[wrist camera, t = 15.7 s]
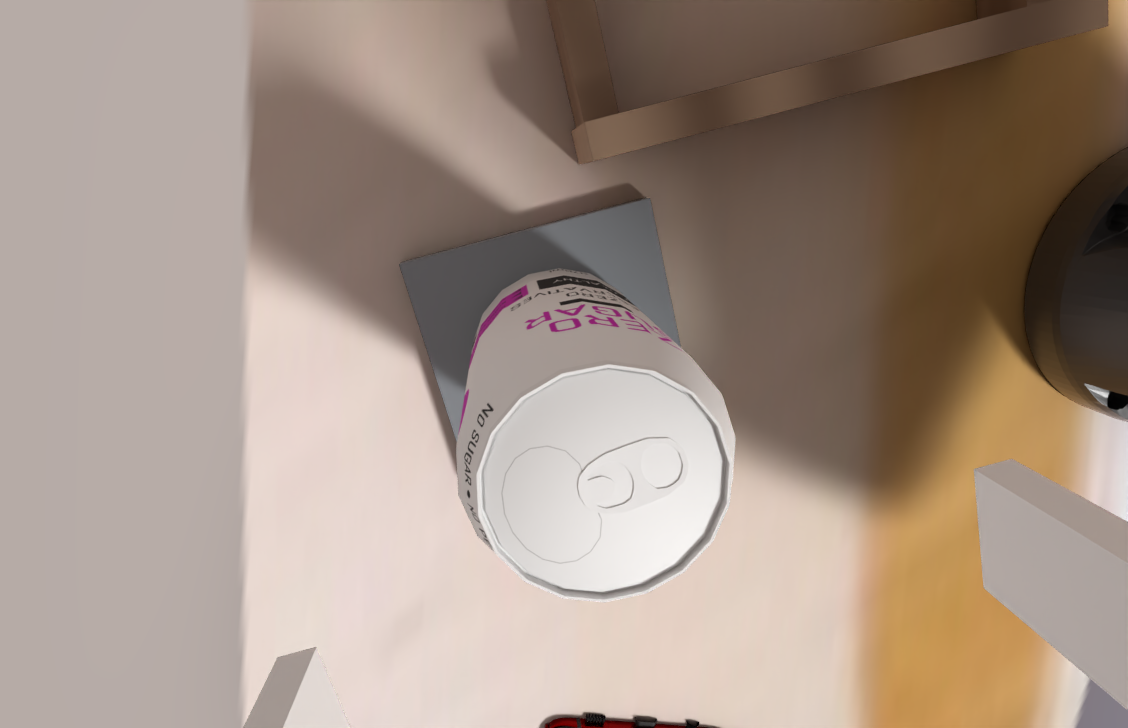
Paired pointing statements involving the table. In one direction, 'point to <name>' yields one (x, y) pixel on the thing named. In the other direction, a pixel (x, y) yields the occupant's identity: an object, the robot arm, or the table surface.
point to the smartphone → (608, 723)
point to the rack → (789, 71)
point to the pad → (483, 269)
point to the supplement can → (589, 441)
